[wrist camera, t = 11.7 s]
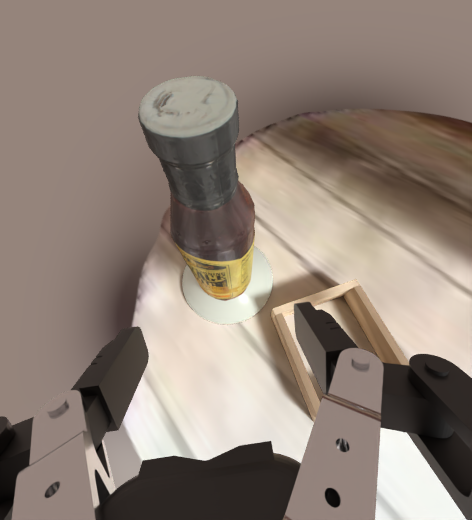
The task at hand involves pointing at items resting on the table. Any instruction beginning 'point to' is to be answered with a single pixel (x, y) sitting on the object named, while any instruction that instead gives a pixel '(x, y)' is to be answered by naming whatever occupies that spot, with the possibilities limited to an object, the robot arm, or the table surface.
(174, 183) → the sauce bottle
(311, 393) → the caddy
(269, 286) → the trivet
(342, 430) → the robot arm
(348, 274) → the table surface
